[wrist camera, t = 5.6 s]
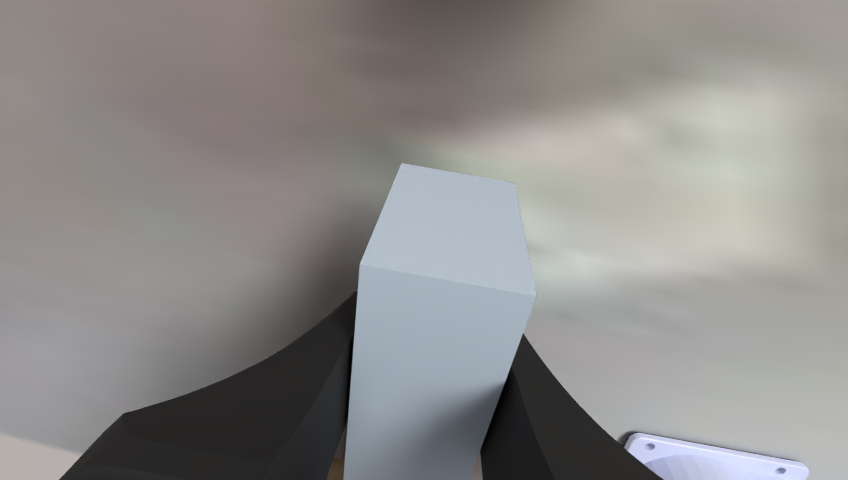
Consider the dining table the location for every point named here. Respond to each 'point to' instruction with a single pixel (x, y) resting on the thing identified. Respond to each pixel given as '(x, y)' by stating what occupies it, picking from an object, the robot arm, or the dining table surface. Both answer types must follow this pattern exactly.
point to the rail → (435, 325)
